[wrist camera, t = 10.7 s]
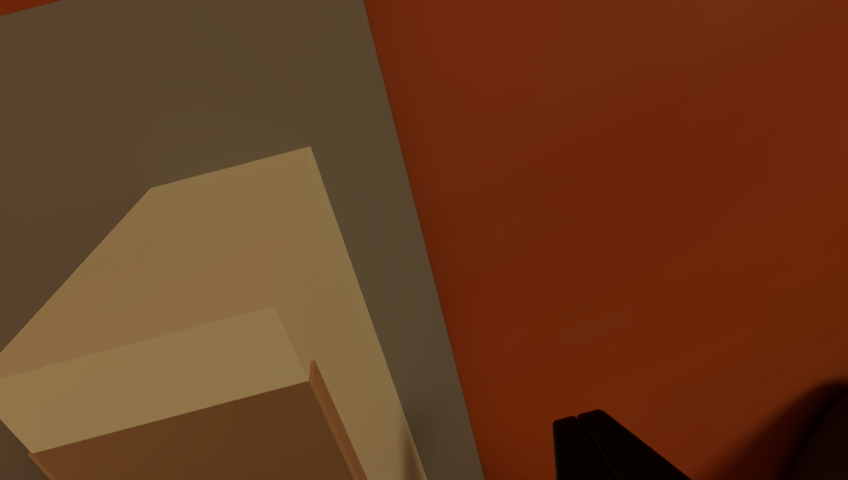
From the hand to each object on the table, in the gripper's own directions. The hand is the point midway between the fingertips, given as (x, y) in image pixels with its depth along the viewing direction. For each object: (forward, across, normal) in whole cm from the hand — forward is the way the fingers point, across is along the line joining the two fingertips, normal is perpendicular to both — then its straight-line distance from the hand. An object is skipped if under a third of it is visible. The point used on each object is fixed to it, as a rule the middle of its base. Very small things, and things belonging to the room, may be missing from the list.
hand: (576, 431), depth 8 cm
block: (+4, +5, 0) cm, 6 cm away
